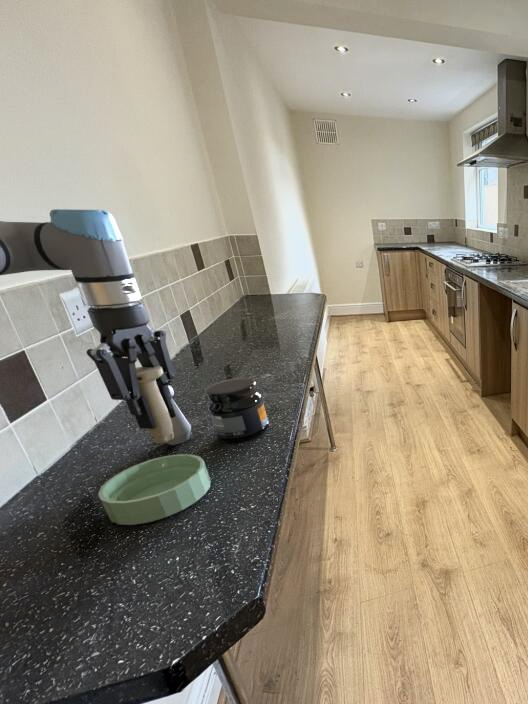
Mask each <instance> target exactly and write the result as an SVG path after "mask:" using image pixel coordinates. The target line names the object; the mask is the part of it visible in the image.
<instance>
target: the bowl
mask: <svg viewBox="0 0 528 704" xmlns="http://www.w3.org/2000/svg"><path fill="white" fill-rule="evenodd" d="M211 482H212V480H211V477H210V474H209V472H208V469H207V466H206V462H205V461H204V459H203V458H202V457H201V456H199V455H195V454H190V453H189V454H188V453H177V454H170V455H163V456H160V457H156V458H152V459H149V460H146V461H143V462H140V463H137V464H135V465H133V466H130V467H128V468H126V469H124V470H122V471H120V472H118V473H117V474H115V475H114V476H112V477H110V478H109V479H108V480H107V481H105V482H104V483H103V485H101V487H100V489H99V490H98V493H97V496H98V498H99V499H100V502H101V504H102V506H103V508H104V510H105V513H106V514H107V516H108V518H109V520H110V522H112V523H115V524H116V525H124V526H134V525H142V524H146V523H151V522H155V521H159V520H162V519H165V518H168V517H170V516H172V515H175V514H177V513H179V512H181V511H184V510H185V509H187V508H188V507H191V506H193V505H194V504H195V503H197V502H198V501H199V500H200V499H202V498H203V497H204V496H205V495H206V494H207V492H208V491H209V489H210V488H211V486H212V485H211Z"/></svg>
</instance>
